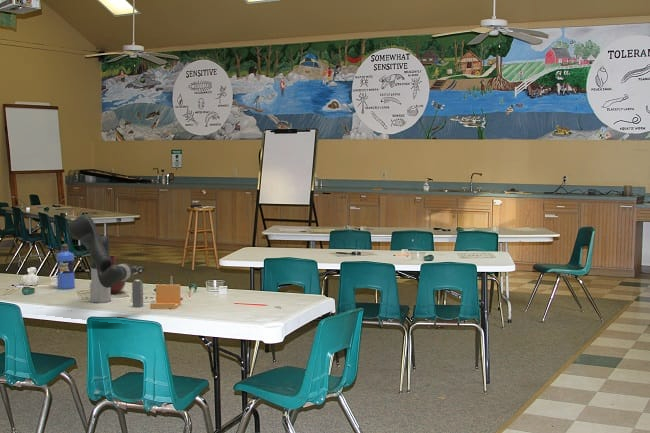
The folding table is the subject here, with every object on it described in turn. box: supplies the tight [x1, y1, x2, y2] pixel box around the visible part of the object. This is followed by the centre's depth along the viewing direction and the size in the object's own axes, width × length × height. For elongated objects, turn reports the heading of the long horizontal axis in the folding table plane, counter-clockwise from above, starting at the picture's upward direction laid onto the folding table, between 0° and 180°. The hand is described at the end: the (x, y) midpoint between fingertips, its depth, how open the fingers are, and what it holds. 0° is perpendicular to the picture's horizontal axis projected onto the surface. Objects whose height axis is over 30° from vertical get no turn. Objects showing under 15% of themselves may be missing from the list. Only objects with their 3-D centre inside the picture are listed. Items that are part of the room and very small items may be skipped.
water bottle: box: [55, 243, 76, 291], centre depth 450 cm, size 9×9×25 cm
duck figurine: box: [20, 266, 40, 286], centre depth 464 cm, size 12×8×11 cm
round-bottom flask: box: [110, 255, 127, 294], centre depth 434 cm, size 13×13×20 cm
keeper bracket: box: [149, 284, 182, 310], centre depth 396 cm, size 12×11×10 cm
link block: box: [131, 279, 144, 308], centre depth 397 cm, size 4×4×13 cm
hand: (132, 268), depth 386 cm, fingers open, 8 cm apart
